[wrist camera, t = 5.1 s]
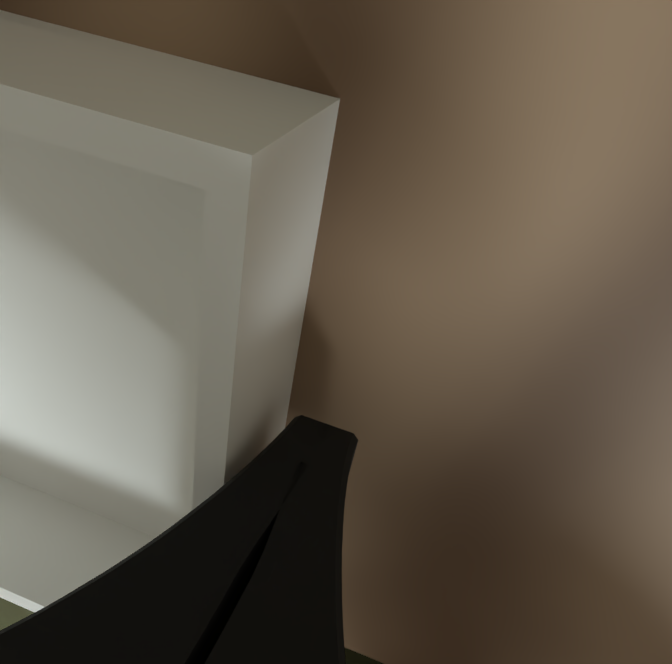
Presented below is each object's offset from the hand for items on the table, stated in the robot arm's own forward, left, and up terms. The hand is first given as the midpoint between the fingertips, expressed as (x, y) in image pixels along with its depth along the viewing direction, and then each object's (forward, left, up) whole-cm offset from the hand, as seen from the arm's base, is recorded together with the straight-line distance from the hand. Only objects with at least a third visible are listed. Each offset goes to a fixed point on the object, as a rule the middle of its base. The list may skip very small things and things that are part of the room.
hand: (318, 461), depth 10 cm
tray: (+6, 0, -1) cm, 6 cm away
